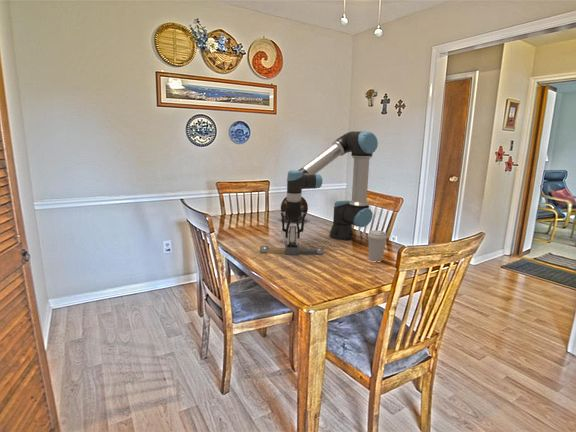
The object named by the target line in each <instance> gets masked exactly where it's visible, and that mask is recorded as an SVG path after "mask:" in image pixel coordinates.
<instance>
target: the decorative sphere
mask: <svg viewBox="0 0 576 432" xmlns="http://www.w3.org/2000/svg"><path fill="white" fill-rule="evenodd" d="M287 201H288V200H287V196H286V197H285V198H283V200H282V201H281V204H280V213H281V212H285V210H286V204H287ZM308 209H309V205H308V201H307V200H306V199H305V197H303V196H302V195H301V211H302V212H303V213H306V215H307V214H308ZM301 215H302V214H300V216H299V217H298V222H299V221H302V216H301ZM284 219H286V220H287V221H288V216H287V214H285V216H284ZM290 222H296V219H294V218H292V219H291V221H290Z"/></svg>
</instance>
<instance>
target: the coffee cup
mask: <svg viewBox="0 0 576 432" xmlns="http://www.w3.org/2000/svg"><path fill="white" fill-rule="evenodd" d="M367 237H368V261H369V260H371V261H376V262H378V261H382V260H383V256H384V252H385V251H384V250H385V247H386V241H387V239H388V234H387V232H385V231H382V230H378V229H377V230H369V232H368V234H367Z"/></svg>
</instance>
